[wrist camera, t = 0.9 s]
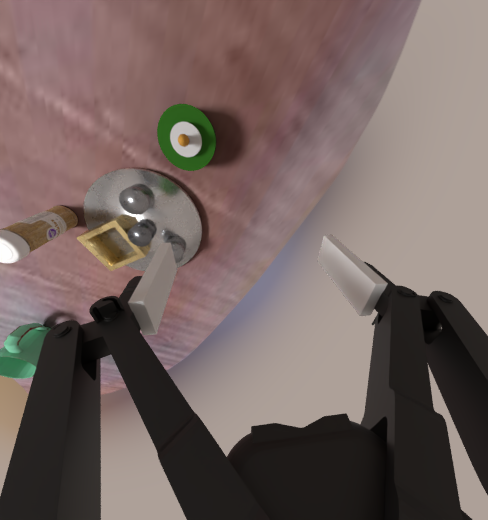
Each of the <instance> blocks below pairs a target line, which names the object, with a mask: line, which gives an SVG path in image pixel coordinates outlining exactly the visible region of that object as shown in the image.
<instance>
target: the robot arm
mask: <svg viewBox="0 0 488 520" xmlns="http://www.w3.org/2000/svg"><path fill="white" fill-rule="evenodd" d="M318 263H319V264H320V265H321V267H322V268H323V269H324V270H325V272H326V273H327V274H328V276H329V277H330V278H331V279H332V281H333V282H334V283H335V285H336V286H337V287H338V288H339V290H340V291H341V292H342V293H343V295H344V296H345V297H346V299H347V300H348V301H349V303H350V304H351V305H352V306H353V308H354V309H355V310H356V312H357V313H358V314H359V315H360V316H366V315H371V314H372V312H373V310H374V309H375V310H376V311H377V312H378V314H377V316H376V318H375V319H374V321H373V323H372V325H374V324H375V330H374V338H373V346H372V347H373V348H372V355H371V363H370V372H369V380H368V389H367V398H366V406H365V413H364V417H363V420H362V422H361V425H360V424H358V423H355V422H352V421H350V420H349V418H348V416H347V414H339V415H331V416H324V417H322V418H321V419H319V420H317V421H315V422H313V423H311V424H309V425H308V426H306V427H304V428H298V427H293V426H287V425H282V424H277V423H273V424H266V425H259V426H252V427H251V433H250V434H248V435H246V436H245V437H243V438H242V439H241V440H240V441H239V442H238V443H237V444H236V445H235V446H234V447H233V448H232V450H231V451H230V453H229V454H228V456H227V457H226V456H225V454H224V453H223V451H222V450H221V448H220V447H219V445H218V444H217V442H216V441H215V439H214V438H213V437H212V435H211V434H210V432H209V431H208V429H207V428H206V426H205V425H204V423H203V422H202V421H201V419H200V418H199V417H198V415H197V414H195V413H194V411H193V410H192V409H191V407H190V406H189V404H188V403H187V401H186V400H185V398H184V397H183V395H182V394H181V392H180V391H179V390H178V388H177V386H176V385H175V384H174V382H173V380H172V379H171V377H170V376H169V374H168V373H167V372H166V370H165V369H164V367H163V366H162V364H161V363H160V361H159V360H158V358H157V357H156V355H155V354H154V352H153V351H152V349H151V348H150V346H149V345H148V343H147V342H146V340H145V339H144V337H143V336H142V334H143V335H152V334H157V331H158V328H159V325H160V322H161V319H162V315H163V312H164V309H165V306H166V303H167V300H168V297H169V294H170V291H171V288H172V284H173V281H174V278H175V275H176V272H177V267H176V263H175V258H174V254H173V250H172V246H171V243H161V244H160V246H159V248H158V249H157V251H156V253H155V255H154V257H153V258H152V260H151V262H150V264H149V266H148V267H147V269H146V271H145V273H144V275H143V276H136V277H134V278H133V279H132V280H130V281H129V283H128V284H127V286H126V288H125V289H124V291H123V293H122V294H121V295H120V297H119V298H118V297H116V296H109V297H105V298H102V299H100V300H98V301H96V302H95V303H94V304H93V305H92V306H91V308H90V314H91V315H92V317H93V318H94V320H95V321H93V322H90V323H86V324H83V325H80V324H79V323H78V322H77V321H74V320H70V321H66V322H63V323H60V324H58V325H56V326H55V327H53V328H52V329H51V330H50V331H49V332H48V333H47V334H46V336H45V338H44V341H43V345H42V348H41V352H40V355H39V359H38V363H37V366H36V370H35V373H34V377H33V381H32V384H31V388H30V392H29V395H28V399H27V402H26V406H25V410H24V413H23V417H22V420H21V424H20V428H19V431H18V435H17V438H16V443H15V446H14V449H13V453H12V457H11V460H10V464H9V467H8V471H7V475H6V479H5V482H4V485H3V489H2V493H1V496H0V520H101V518H100V517H101V505H100V504H101V498H100V497H101V494H100V493H101V477H100V476H101V464H100V463H101V460H100V458H101V454H100V453H101V451H100V449H101V448H100V447H101V446H100V443H101V442H100V440H101V438H100V437H101V435H100V432H101V431H100V358H102V357H105V356H108V355H111V354H112V357H113V359H114V361H115V363H116V365H117V367H118V369H119V371H120V373H121V376H122V378H123V380H124V382H125V384H126V386H127V388H128V390H129V392H130V395H131V397H132V399H133V401H134V403H135V405H136V407H137V409H138V411H139V414H140V415H141V418H142V420H143V422H144V424H145V426H146V428H147V430H148V433H149V434H150V437H151V439H152V441H153V443H154V445H155V447H156V450H157V453H158V457H159V460H160V463H161V465H162V467H163V469H164V472H165V474H166V476H167V478H168V480H169V482H170V484H171V486H172V489H173V491H174V493H175V495H176V497H177V499H178V502H179V503H180V506H181V508H182V510H183V512H184V514H185V517H186V519H187V520H472V519H471V518H470V517H469V516H468V515H467V514H466V513H464V512H463V511H462V510H461V507H460V502H459V496H458V490H457V484H456V479H455V473H454V466H453V461H452V455H451V449H450V443H449V437H448V431H447V426H446V422H445V419H444V418H443V416H442V415H440V414H438V413H437V412H435V411H434V408H433V401H432V394H431V386H430V379H429V372H428V365H429V367H430V369H431V372H432V374H433V376H434V378H435V381H436V383H437V385H438V388H439V390H440V392H441V394H442V397H443V399H444V401H445V404H446V406H447V408H448V410H449V413H450V415H451V417H452V420H453V422H454V424H455V426H456V428H457V431H458V433H459V435H460V438H461V440H462V442H463V445H464V447H465V449H466V451H467V454H468V456H469V458H470V461H471V462H472V465H473V467H474V469H475V471H476V473H477V476H478V478H479V480H480V482H481V484H482V486H483V488H484V489H485V491H486V493H487V495H488V336H487V334H486V333H485V332H484V331H483V330H482V328H481V327H480V326H479V324H478V323H477V322H476V321H475V320H474V318H473V317H472V316H471V314H470V313H469V312H468V311H467V309H466V308H465V307H464V306H463V304H462V303H461V302H460V301H459V300H458V299H457V298H455V297H454V296H452V295H451V294H448V293H445V292H441V291H433V292H432V293H431V294H430V296H429V297H427V296H419V295H417V294H416V293H415V292H414V291H412V290H411V289H409V288H407V287H403V286H396V285H395V284H393V283H392V282H391V281H390V280H389V279H387V278H386V277H385V276H384V275H383V274H381V273H380V272H379V271H377V269H375V268H374V267H373V266H372V265H370V264H368V263H366V262H363V261H362V260H360V259H359V258H358V257H357V256H356V255H355V254H353V253H352V252H351V251H350V250H349V249H348V248H347V247H346V246H344V245H343V244H342V243H341V242H340V241H339V240H338V239H337V238H335V237H334V236H333V235H324V237H323V241H322V245H321V249H320V253H319V257H318ZM441 327H442V329H441ZM140 329H141V331H142V334H141V333H140ZM427 363H428V364H427Z"/></svg>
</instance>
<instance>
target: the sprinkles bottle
mask: <svg viewBox="0 0 488 520" xmlns="http://www.w3.org/2000/svg"><path fill="white" fill-rule="evenodd" d="M77 223H78V218H77V216H76V214H75V213H74V212H73V211H72V210H70V209H69V208H66V207H64V206H54V207H53V208H51V209H49V210H47V211H44V212H41V213H38V214H36V215H34V216H31V217H29V218H26V219H24V220H21V221H19V222H17V223H15V224H13V225H11V226H8V227H6V228H3V229H0V262H2V263H14V262H17V261H19V260H21V259H23V258H24V257H26V256H27V255H28V254H29V253H30V252H31V251H33V250H35V249H37V248H38V247H40V246H42V245H43V244H45V243H47V242H48V241H51V240H53V239H54V238H56V237H58V236H60V235H61V234H63V233H64V232H65V231H67V230H69V229H71V228H73V227H75V226H76V225H77Z"/></svg>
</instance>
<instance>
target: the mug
mask: <svg viewBox="0 0 488 520" xmlns="http://www.w3.org/2000/svg"><path fill="white" fill-rule="evenodd" d="M50 330H51V328H48V327H44V326H43V325H41V324H38V323H32V324H28V325H23V326H19V327H18V328H17V329H16V330H14V331H13V332H12V333H11V334H9V335H8V337H7V339H6V340H5V342H4V345H5V346H4V347H3V348H2V349H0V375H1V376H5V377H10V378H30V377H33V376H34V373H35V370H36V366H37V363H38V359H39V355H40V352H41V348H42V345H43V341H44V338H45V336H46V334H47V333H48V332H49V331H50Z"/></svg>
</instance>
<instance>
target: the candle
mask: <svg viewBox="0 0 488 520" xmlns="http://www.w3.org/2000/svg"><path fill="white" fill-rule="evenodd" d="M157 133H158V141H159V145H160V147H161V150H162V151H163V153H164V155H165V156H166V158H167V159H168V160H169V161H170V162H171V163H172V164H174V165H175V166H177V167H178V168H181V169H183V170H188V171H194V170H199V169H201V168H203V167H204V166H206V165H207V164H208V163H209V162H210V160H211V159H212V157H213V155H214V152H215V149H216V135H215V131H214V129H213V126H212V125H211V123H210V121H209V120H208V118H207V117H206V116H205V115H204V114H203V113H202V112H201V111H200V110H199V109H197V108H195V107H193V106H191V105H187V104H177V105H173V106H171V107H169V108H168V109H167V110H166V111H165V112H164V113H163V114H162V116H161V118H160V120H159V123H158V129H157Z"/></svg>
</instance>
